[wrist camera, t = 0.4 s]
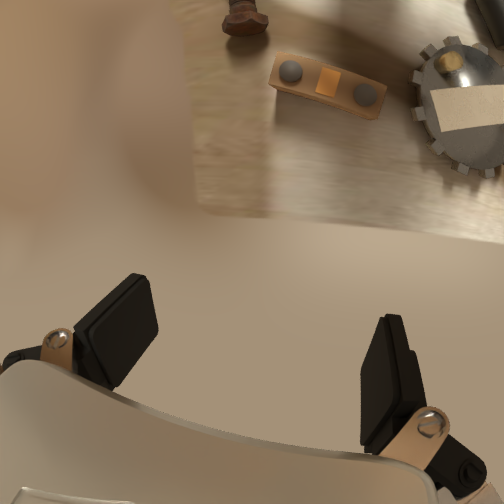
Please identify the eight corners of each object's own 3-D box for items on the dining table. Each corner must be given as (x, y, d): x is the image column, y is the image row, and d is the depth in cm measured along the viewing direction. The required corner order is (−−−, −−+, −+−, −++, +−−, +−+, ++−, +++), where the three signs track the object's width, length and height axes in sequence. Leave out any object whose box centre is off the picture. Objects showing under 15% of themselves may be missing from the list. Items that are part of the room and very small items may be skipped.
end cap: (460, -10, 17) (477, -25, 11) (493, -5, 14) (512, -17, 8) (487, 50, 20) (511, 42, 14) (518, 53, 17) (542, 47, 12)
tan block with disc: (285, 62, 30) (276, 49, 24) (377, 91, 28) (388, 85, 23) (277, 90, 32) (266, 83, 26) (369, 120, 30) (378, 119, 25)
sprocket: (386, 45, 24) (398, 30, 18) (496, 40, 18) (519, 32, 12) (428, 185, 30) (446, 199, 24) (527, 166, 24) (552, 176, 18)
